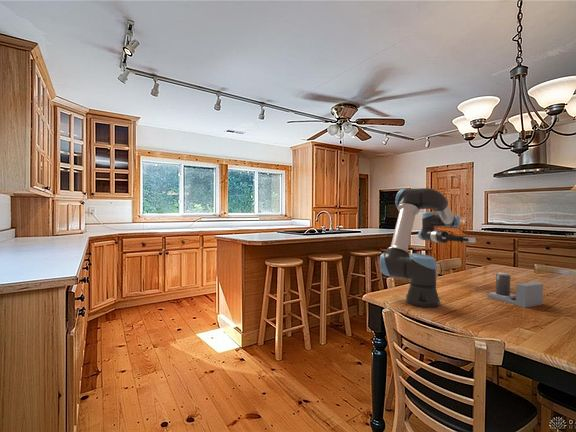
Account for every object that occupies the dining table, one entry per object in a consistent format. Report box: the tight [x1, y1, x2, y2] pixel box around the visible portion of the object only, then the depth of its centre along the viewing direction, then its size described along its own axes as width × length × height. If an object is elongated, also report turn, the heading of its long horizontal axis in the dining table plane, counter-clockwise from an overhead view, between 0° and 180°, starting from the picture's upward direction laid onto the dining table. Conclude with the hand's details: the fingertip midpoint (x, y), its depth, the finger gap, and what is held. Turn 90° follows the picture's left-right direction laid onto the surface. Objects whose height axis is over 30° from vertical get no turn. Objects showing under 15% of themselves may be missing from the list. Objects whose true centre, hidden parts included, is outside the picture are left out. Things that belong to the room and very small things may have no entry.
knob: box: [489, 272, 516, 300], centre depth 153 cm, size 8×8×12 cm
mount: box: [486, 281, 544, 308], centre depth 148 cm, size 13×18×10 cm
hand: (474, 240), depth 167 cm, fingers closed
